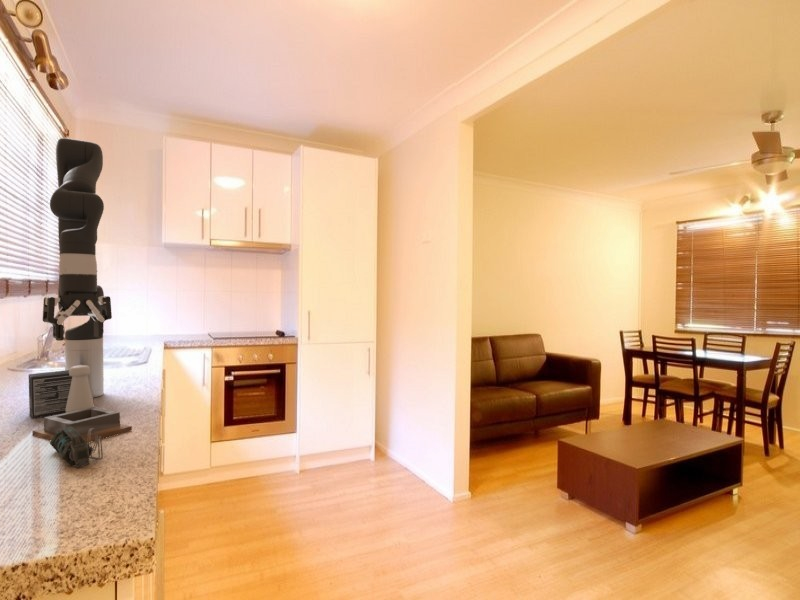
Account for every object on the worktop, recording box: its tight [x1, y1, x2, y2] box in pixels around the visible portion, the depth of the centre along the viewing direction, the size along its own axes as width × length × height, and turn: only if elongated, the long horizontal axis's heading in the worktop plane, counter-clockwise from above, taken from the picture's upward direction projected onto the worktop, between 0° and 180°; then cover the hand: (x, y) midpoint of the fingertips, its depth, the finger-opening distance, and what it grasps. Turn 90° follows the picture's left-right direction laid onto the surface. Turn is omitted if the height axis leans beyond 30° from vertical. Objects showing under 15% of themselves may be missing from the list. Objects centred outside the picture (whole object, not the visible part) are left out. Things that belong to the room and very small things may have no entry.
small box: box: [28, 369, 72, 420], centre depth 115 cm, size 11×6×10 cm, turn 135°
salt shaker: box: [65, 365, 95, 413], centre depth 109 cm, size 6×6×13 cm
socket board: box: [32, 406, 133, 444], centre depth 98 cm, size 16×12×4 cm
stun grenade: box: [49, 427, 104, 469], centre depth 84 cm, size 6×6×14 cm
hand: (79, 338), depth 109 cm, fingers open, 8 cm apart
